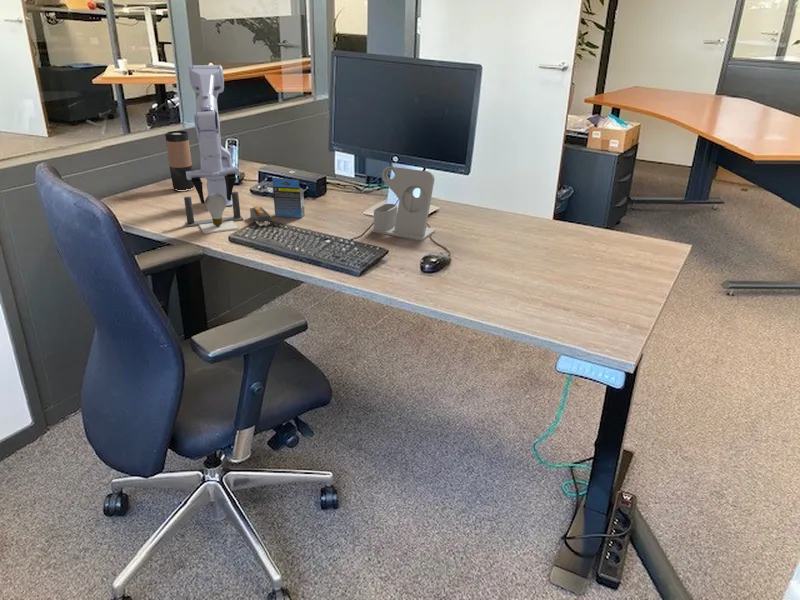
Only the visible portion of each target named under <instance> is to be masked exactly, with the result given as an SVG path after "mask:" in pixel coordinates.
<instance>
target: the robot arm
mask: <svg viewBox="0 0 800 600" xmlns="http://www.w3.org/2000/svg"><path fill="white" fill-rule="evenodd" d="M223 68H224V67H223V66H222V65H221V64H214V65H213V64H207V65H204V64H202V65H200V64H198V65H197V64H196V65H195V64H189V66H188V77H189V83H190V85H191V88H192V91H193V92H194V93H197V94H198V95H197V97H196V99H195V112H196V113H194V114H193V121H194V122H193V123H194V129H195V132H196V138H197V140H198V146H199V157H200V162H199V163H200V169H196V170H193V171H189V172H186V177H187V179H188V180H191V181H192V183H193V184H194V189H195V190H196V192H197V194H198V197H199V202H200V203H201V205H202V204H204V205H205V197H204V191H203V181H202V179H205V180H206V189H207V191H206V192H207V196H208V195H210V194H212V193H218V194H221V195H222V196H223V197H224V198H225V201H226V207H230V206H233V203H232V192H233V189H234V186H235V183H236V181H237V176H239V175H240V171H239V170H240V169H239V168H238V167H237V166H235V167H234V166H233V159H232V154H231V152H230V150H228V149H226V148H225V147H223V146H222V138H221V124H220V116H219V110H218V109H219V108H218V97H219V94H221V93H224V89H225V79H224V71H223Z"/></svg>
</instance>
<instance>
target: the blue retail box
mask: <svg viewBox="0 0 800 600" xmlns="http://www.w3.org/2000/svg"><path fill="white" fill-rule="evenodd" d="M271 180H272V192H273V204H274V206H273V207H274V216H275V218H278V217H279V218H280V217H281V218H297V219H302V218H303V217H304V216H305V198H304V196H305V195H304V189H303V188H301V187H300V180H299V179H289V178H273V177H272V179H271ZM285 183H287V184H285Z"/></svg>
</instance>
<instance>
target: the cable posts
mask: <svg viewBox="0 0 800 600" xmlns="http://www.w3.org/2000/svg"><path fill="white" fill-rule="evenodd" d="M239 197H240V196H239V192H238V191H232V195H231V199H232V203H233V205H232V209H233V210H232V211H233V215H232V216H228V217H227V216H226V217H222V222H225V221H233V222H238V221H244V217H243V216H242V215H241V208H240V206H241V205H240V198H239ZM183 199H184V200H183V201H184V207H185V215H186V221H185V222H184V225H185V227H186V228H192V227H198V226H199V225H201V224H209V223H213V219H212V218H210V219H201V220H195V217H194V209H193V202H192V197H191V196H184V197H183Z"/></svg>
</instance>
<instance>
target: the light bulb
mask: <svg viewBox="0 0 800 600" xmlns="http://www.w3.org/2000/svg"><path fill="white" fill-rule="evenodd" d="M204 205H205V208H206V209H207V211H208V212H209V213H210V214H209V215H210V217H211V219H213V224H214V225H216V226H220V225H221V224H222V218H223V214H224V210H225V209H226V207H227V206H226V201H225V198H224V197H223V196H222V195H221V194H218V193H212V194H210V195H208V194H207V196H206V198H205V199H204Z"/></svg>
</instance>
